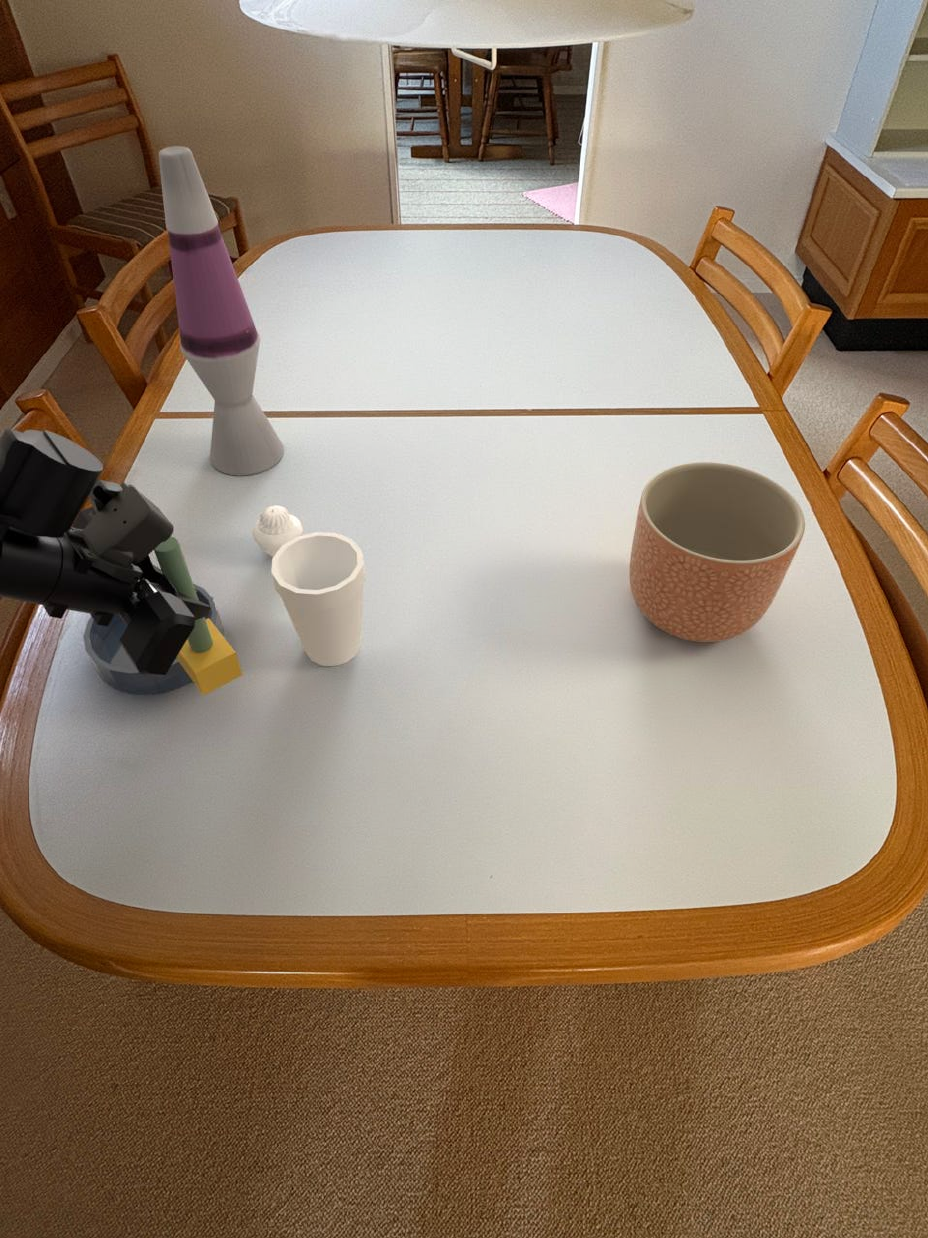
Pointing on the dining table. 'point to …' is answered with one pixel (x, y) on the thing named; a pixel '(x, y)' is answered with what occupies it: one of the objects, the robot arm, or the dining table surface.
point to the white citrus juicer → (276, 529)
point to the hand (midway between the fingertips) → (202, 604)
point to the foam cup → (322, 594)
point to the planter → (711, 549)
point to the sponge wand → (198, 629)
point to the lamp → (215, 320)
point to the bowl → (118, 665)
